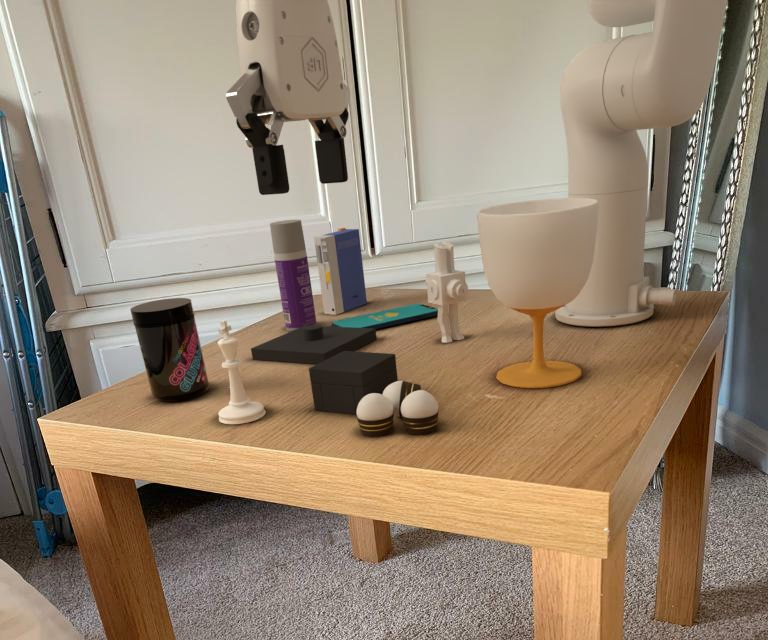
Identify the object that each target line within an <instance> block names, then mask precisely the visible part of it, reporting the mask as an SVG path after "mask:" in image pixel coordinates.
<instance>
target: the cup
mask: <svg viewBox="0 0 768 640" xmlns="http://www.w3.org/2000/svg"><path fill="white" fill-rule="evenodd" d="M598 208H599V203H598V201H597V200H595V199H589V198H568V197H563V198H561V197H560V198H545V199H534V200H524V201H517V202H508V203H503V204H497V205H492V206H489V207H484V208H482V209H479V210H478V212H477V214H476V219H477V231H478V242H479V249H480V255H481V261H482V268H483V272H484V275H485V278H486V281H487V285H488V287H489V289H490V290H491V292H492V293H493V295H494V297H496V299H497V301H499V302H500V303H501V304H502V305H504V306H505V307H507V308H509V309H512V310H513V311H516V312H518V313H520V314H524V315H527V316H529V317H530V318H531V320H532V335H533V353H532V360H530V361H522V362H518V363H517V362H516V363H514V364H511V365H507V366H504V367H503V368H502V369H500V370H499V371H497V373H496V377H495V378H496V379H497V381H499V382H500V383H501V384H502V385H505V386H509V387H512V388H520V389H549V388H554V387H560V386H561V387H562V386H565V385H567V384H571V383H573V382H575V381H577V380H578V379H579V378H580V377H582V368H580V367H579V366H577V365H576V364H574V363H570V362H566V361H561V360H560V361H559V360H550V359H549V360H548V359H546V360H545V355H544V354H545V353H544V322H545V317H546V316H547V315H548V314H551V313H553V312H555V311H556V310H557V309H559V308H561V307H562V306H564V305H566V304H568V303H570V302H571V301H573V300H574V299H575V298H576V297H577V296H578V295H579V293H580V292H581V290H582V288H583V287H584V285H585V283H586V282H587V280H588V277H589V273H590V270H591V266H592V263H593V256H594V249H595V242H596V235H597V223H598Z"/></svg>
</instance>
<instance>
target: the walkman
mask: <svg viewBox="0 0 768 640" xmlns="http://www.w3.org/2000/svg"><path fill="white" fill-rule="evenodd" d="M313 241H314V248H315V255H316V262H317V270H318V277H319V284H320V285H319V286H320V290H321V300H322V306H323V314H324V315H331V316H336V315H340V314H342V313H344V312H345V313H346V312H347V311H350V310H353V309H356V308H358V307H361V306H363V305H367V304H368V301H367V292H366V291H367V290H366V282H365V274H364V273H365V272H364V264H363V255H362V247H361V246H362V245H361V238H360V229H359V228H346V227H340V228H337V231H333V232H330V233H329V232H328V233H325V234H321V235H318V236H313Z"/></svg>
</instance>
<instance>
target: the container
mask: <svg viewBox="0 0 768 640" xmlns="http://www.w3.org/2000/svg"><path fill="white" fill-rule="evenodd" d="M269 226H270V228H269V229H270V235H271V243H272V249H273V257H274V265H275V270H276V276H277V282H278V289H279V295H280V302H281V307H282V313H283V319H284V325H285V330H286V331H287V332H291V331H293V330H296V329H298V328H300V327H303V326H305V325H307V326H309V325H318V324H317V318H316V309H315V304H314V295H313V287H312V282H311V281H312V280H311V275H310V268H309V259H308V255H307V248H306V241H305V236H304V229H303V224H302V220H301V219H286V220H279V221H274V222H271V223H269Z"/></svg>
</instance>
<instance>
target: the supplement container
mask: <svg viewBox="0 0 768 640" xmlns="http://www.w3.org/2000/svg"><path fill="white" fill-rule="evenodd" d="M130 314H131V317H132V321H133V322H132V323H133V326H134V329H135V333H136V337H137V341H138V344H139V348H140V353H141V356H142V360H143V364H144V369H145V372H146V376H147V380H148V384H149V388H150V393H151V396H153V398H154V399H156V400H157V401H159V402H164V403H176V402H183V401H188V400H192V399H195V398H198V397H200V396H202V395H203V394H206V392H207V391H208V389H209V386H210V382H209V377H208V373H207V368H206V364H205V359H204V355H203V349H202V345H201V339H200V336H199V331H198V326H197V322H196V317H195V316H196V315H195V311H194V307H193V302H192V299H191V298H188V297H173V298H171V297H170V298H163V299H155V300H151V301H147V302H143V303H140V304H137V305H134V306H132V307H130Z"/></svg>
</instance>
